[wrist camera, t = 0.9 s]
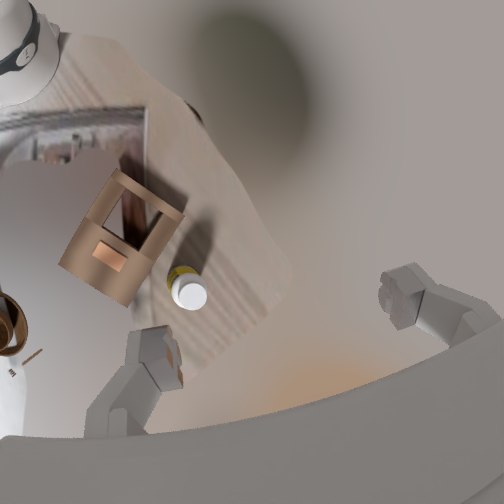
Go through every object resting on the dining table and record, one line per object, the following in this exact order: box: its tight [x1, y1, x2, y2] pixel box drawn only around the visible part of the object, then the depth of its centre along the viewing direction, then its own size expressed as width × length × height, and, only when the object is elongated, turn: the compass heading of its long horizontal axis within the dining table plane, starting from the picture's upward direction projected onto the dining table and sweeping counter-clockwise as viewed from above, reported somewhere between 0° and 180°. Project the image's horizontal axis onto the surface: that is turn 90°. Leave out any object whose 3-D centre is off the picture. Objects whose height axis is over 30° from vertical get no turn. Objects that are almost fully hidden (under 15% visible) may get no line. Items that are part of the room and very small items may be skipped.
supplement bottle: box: [167, 265, 207, 310], centre depth 48 cm, size 5×5×10 cm
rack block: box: [58, 168, 185, 308], centre depth 46 cm, size 13×17×3 cm
